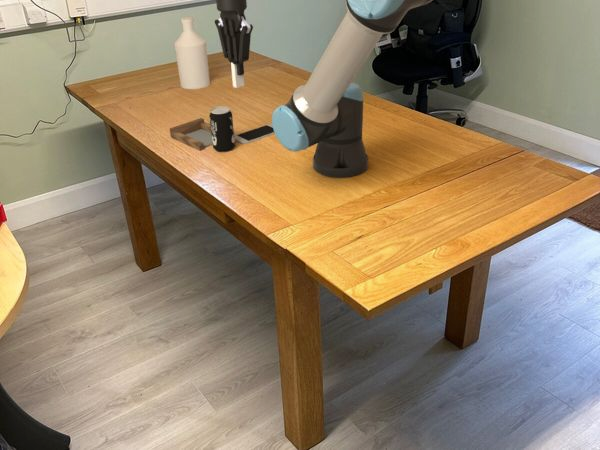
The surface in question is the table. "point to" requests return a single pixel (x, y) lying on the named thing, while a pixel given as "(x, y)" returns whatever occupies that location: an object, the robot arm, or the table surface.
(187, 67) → the bottle
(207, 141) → the grey rubber pad
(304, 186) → the table surface
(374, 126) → the table surface
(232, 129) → the beverage can
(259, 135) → the smartphone
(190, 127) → the walnut U-rest
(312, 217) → the table surface
